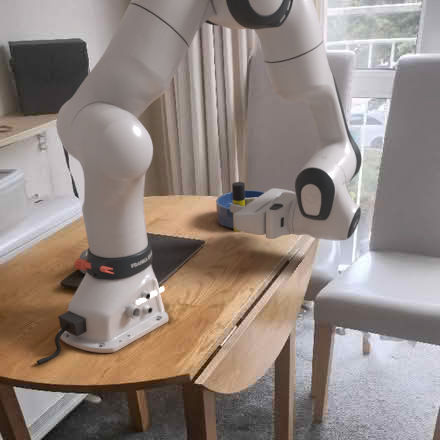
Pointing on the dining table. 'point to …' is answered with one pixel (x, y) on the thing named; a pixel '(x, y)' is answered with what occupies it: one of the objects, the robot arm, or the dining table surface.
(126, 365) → the dining table surface
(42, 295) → the dining table surface
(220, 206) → the bowl
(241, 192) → the highlighter
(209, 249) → the dining table surface
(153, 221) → the dining table surface
